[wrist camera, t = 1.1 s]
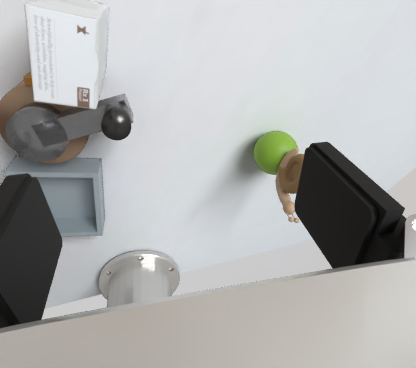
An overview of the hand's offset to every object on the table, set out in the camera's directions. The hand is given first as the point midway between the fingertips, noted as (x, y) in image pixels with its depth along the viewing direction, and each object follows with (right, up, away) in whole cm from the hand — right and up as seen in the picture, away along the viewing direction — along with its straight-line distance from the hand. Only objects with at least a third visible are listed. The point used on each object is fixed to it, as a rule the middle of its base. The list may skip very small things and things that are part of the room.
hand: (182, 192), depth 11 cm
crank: (-12, +7, +18) cm, 23 cm away
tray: (-17, 0, +27) cm, 32 cm away
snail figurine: (+9, +5, +29) cm, 31 cm away
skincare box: (-11, +15, +18) cm, 26 cm away
